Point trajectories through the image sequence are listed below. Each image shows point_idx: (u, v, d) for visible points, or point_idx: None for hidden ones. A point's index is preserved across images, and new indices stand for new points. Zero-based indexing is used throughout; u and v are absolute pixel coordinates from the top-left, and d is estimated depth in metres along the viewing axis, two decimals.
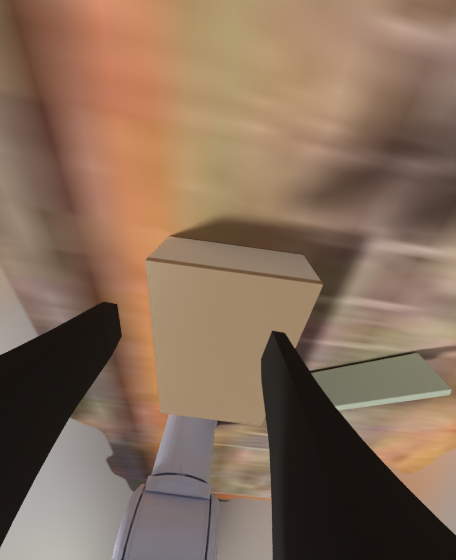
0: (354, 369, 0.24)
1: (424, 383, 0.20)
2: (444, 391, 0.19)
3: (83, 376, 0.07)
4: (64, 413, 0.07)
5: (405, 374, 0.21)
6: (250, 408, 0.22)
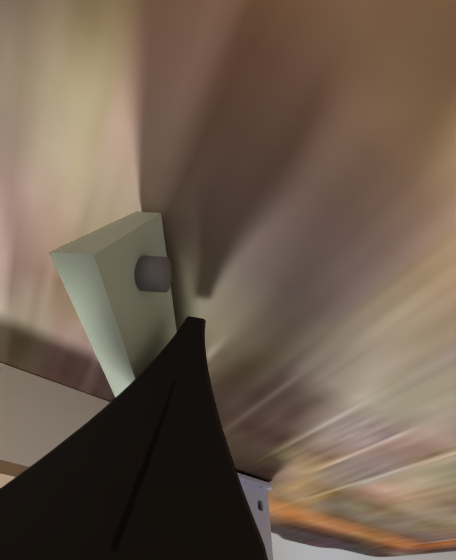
0: None
1: None
2: (71, 273, 0.05)
3: None
4: None
5: None
6: None
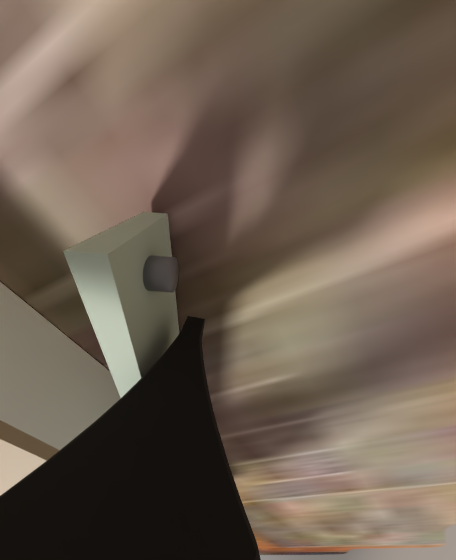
0: None
1: None
2: (83, 272, 0.05)
3: None
4: None
5: None
6: None
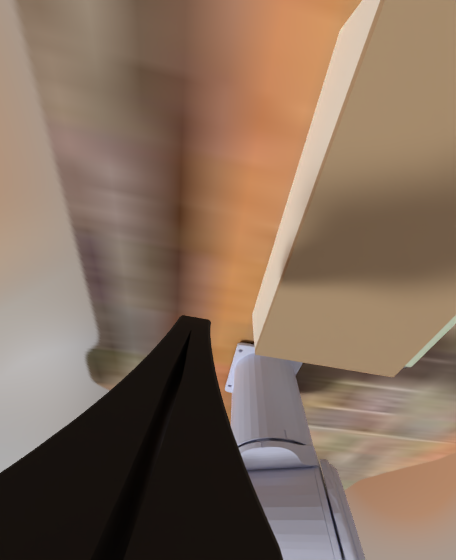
0: None
1: None
2: None
3: (176, 390, 0.08)
4: (165, 428, 0.07)
5: None
6: (396, 345, 0.15)
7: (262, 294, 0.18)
